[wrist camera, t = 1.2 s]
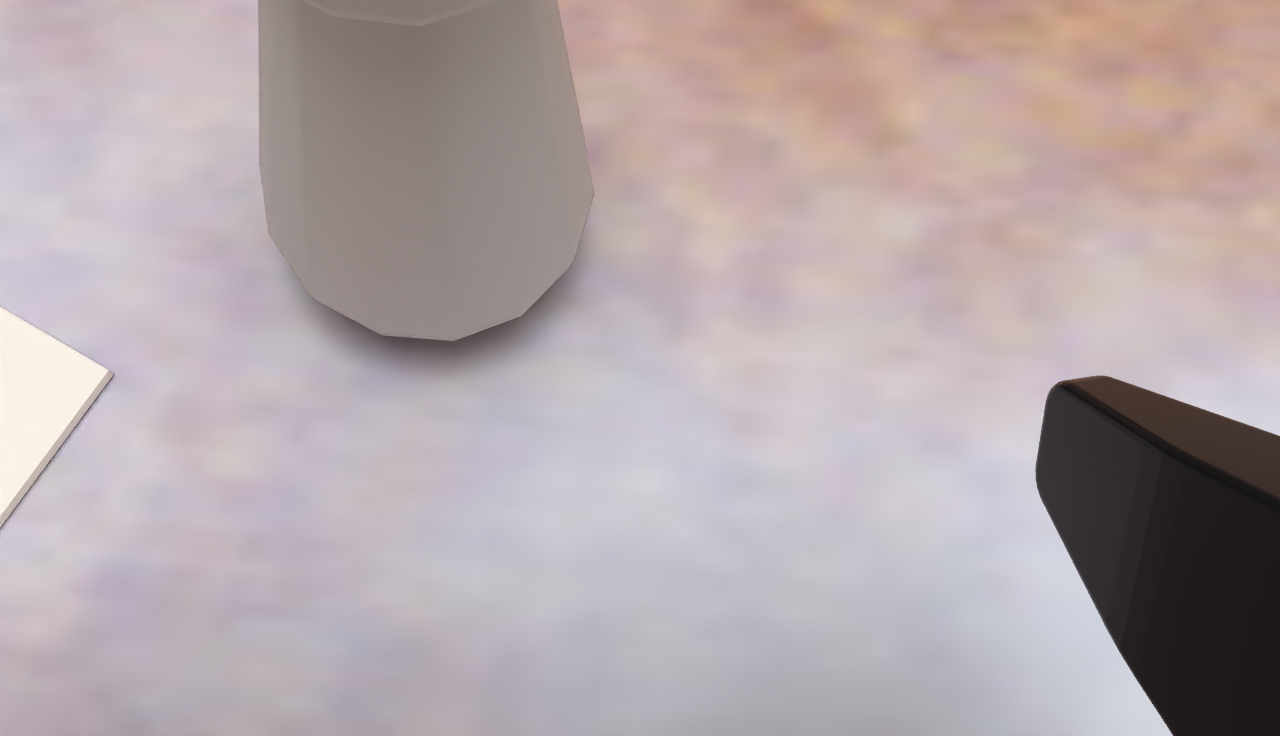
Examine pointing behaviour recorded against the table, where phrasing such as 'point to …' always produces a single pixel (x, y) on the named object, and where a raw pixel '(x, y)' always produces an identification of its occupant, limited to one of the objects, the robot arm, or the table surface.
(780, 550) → the table surface
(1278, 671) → the robot arm
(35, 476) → the letter card
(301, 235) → the salt shaker
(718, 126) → the table surface
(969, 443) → the table surface
